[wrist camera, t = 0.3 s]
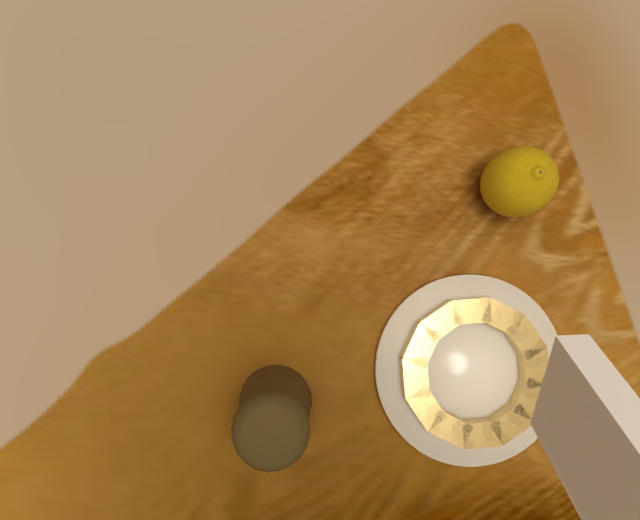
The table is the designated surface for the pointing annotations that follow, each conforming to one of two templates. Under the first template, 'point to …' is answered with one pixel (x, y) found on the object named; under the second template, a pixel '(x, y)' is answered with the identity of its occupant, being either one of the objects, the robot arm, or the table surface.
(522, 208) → the lemon
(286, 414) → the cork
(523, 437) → the coaster
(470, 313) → the collar
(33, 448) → the table surface
